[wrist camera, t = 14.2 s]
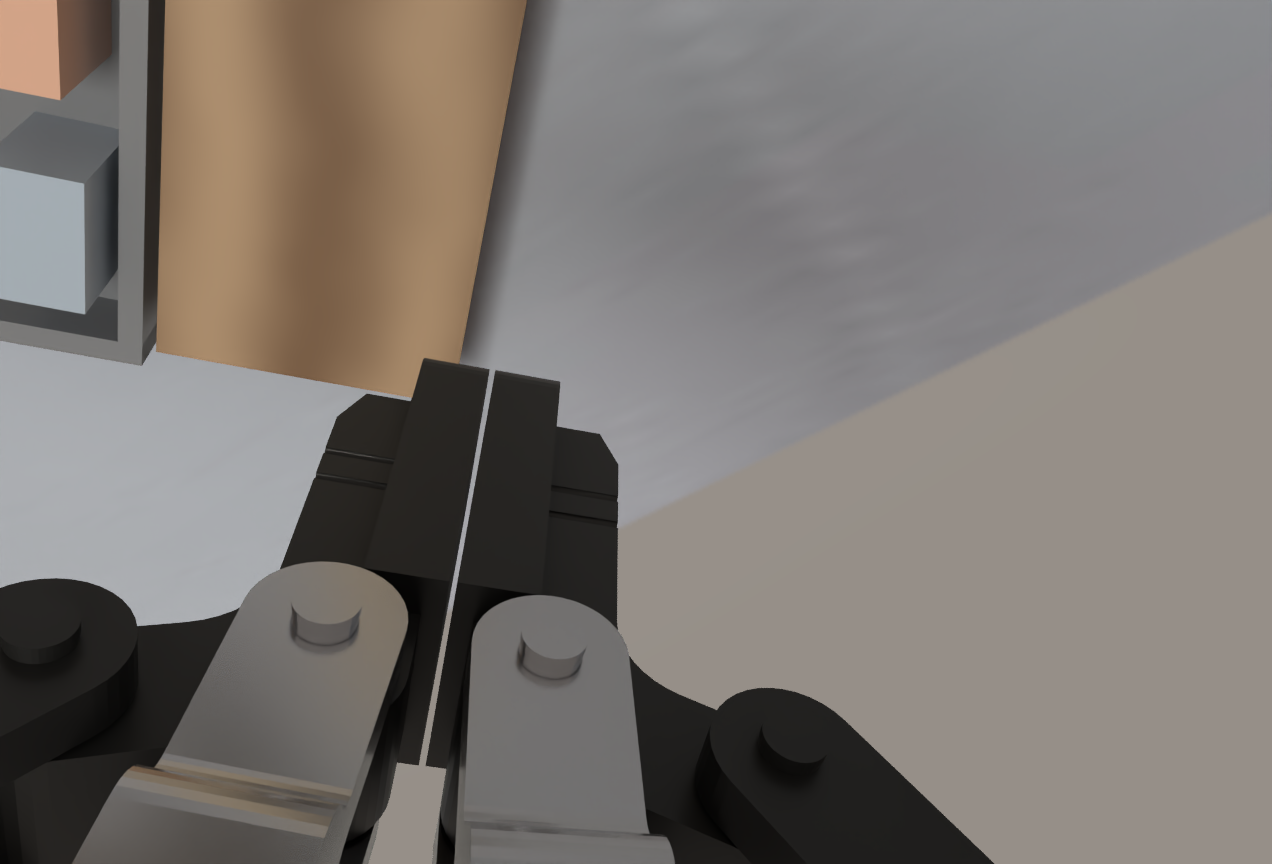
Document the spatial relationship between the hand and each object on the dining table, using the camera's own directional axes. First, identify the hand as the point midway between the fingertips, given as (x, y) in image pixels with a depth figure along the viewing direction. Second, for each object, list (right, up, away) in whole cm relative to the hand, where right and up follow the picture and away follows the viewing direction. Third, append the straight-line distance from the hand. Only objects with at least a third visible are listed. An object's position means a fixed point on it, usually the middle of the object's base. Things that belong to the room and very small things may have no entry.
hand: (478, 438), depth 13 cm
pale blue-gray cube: (-15, +7, +25) cm, 30 cm away
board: (-8, +10, +27) cm, 30 cm away
